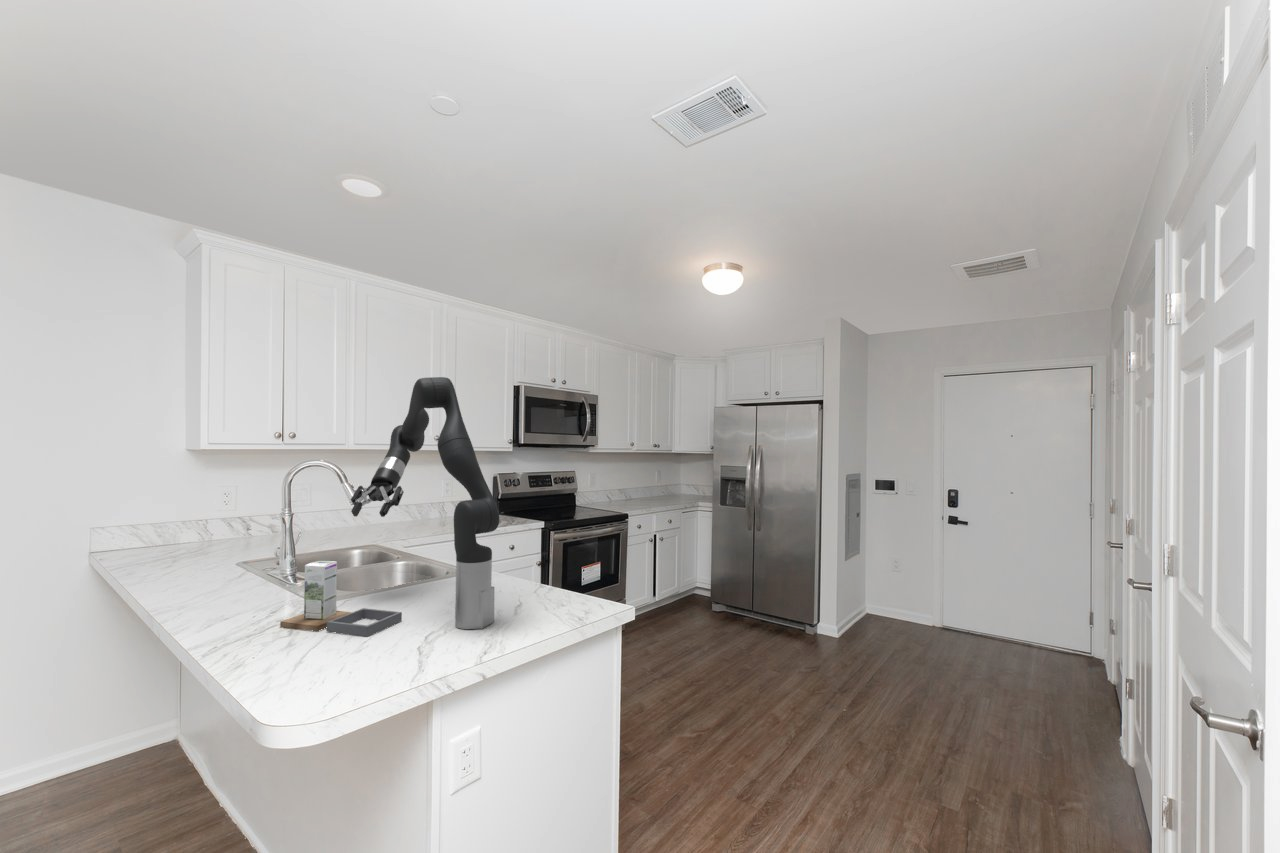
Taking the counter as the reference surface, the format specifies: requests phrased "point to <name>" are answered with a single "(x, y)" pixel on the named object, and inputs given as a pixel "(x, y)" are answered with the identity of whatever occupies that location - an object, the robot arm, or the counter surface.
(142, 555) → the counter surface
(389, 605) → the counter surface
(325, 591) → the syrup box
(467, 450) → the robot arm
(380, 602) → the counter surface
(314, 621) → the walnut board
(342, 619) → the frame
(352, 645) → the counter surface
